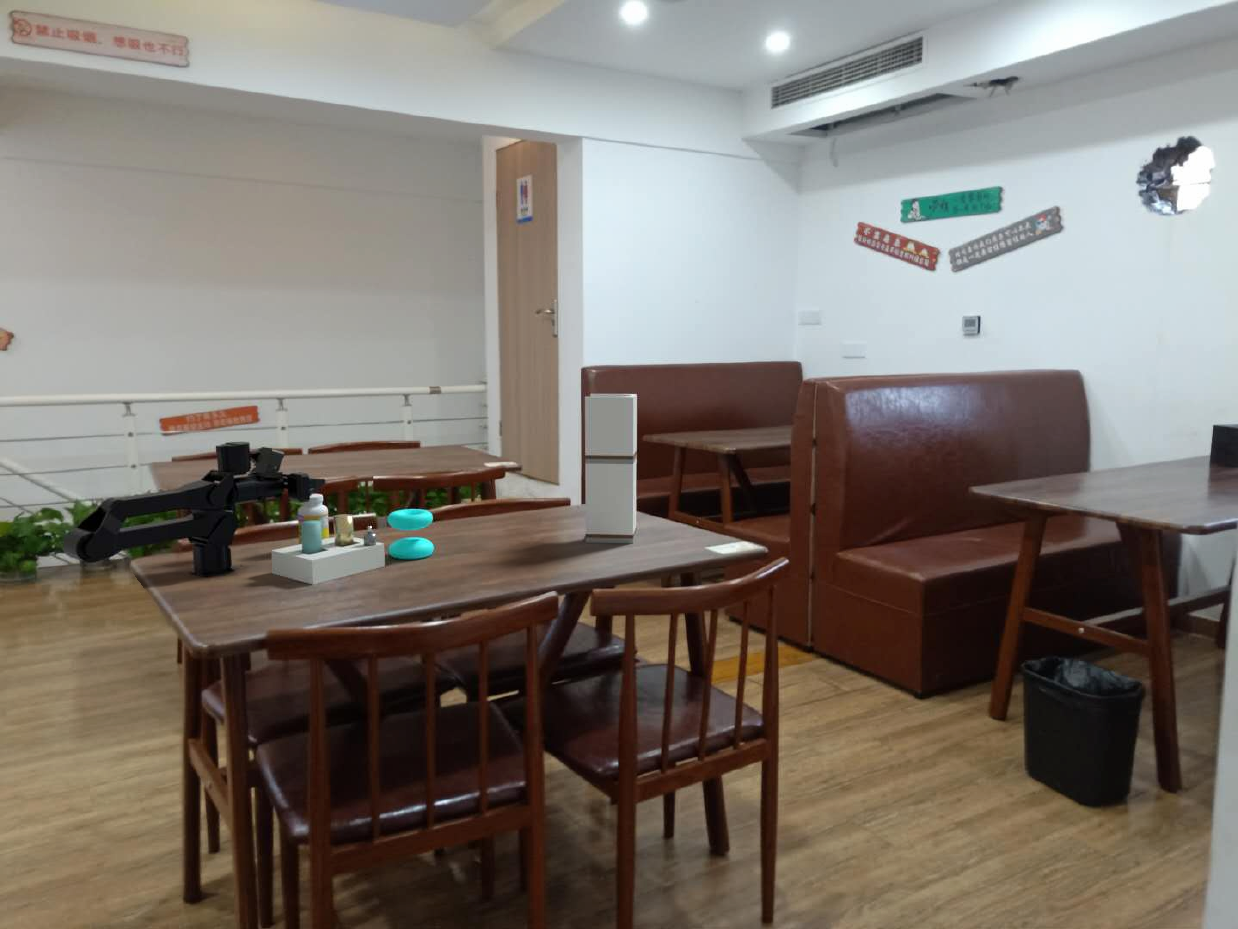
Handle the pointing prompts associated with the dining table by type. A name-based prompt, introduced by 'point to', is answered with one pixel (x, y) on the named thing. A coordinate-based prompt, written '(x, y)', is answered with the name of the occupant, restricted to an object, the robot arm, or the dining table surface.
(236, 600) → the dining table surface
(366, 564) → the mount
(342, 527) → the brass knob
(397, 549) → the donuts
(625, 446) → the toy refrigerator
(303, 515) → the supplement bottle
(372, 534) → the potentiometer
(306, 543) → the teal cylinder
